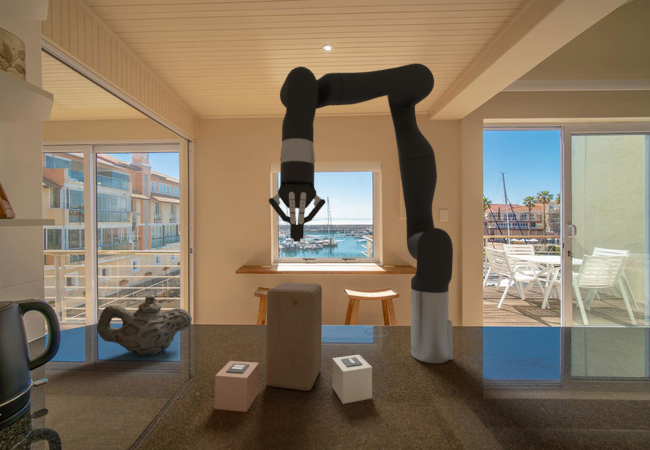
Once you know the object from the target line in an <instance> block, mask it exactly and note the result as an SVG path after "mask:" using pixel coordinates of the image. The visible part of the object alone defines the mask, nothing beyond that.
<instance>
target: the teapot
mask: <svg viewBox="0 0 650 450" xmlns="http://www.w3.org/2000/svg"><path fill="white" fill-rule="evenodd" d="M161 309H162V304H161V303H160V302H158V301H156V296H155V295H154V296H153V295H146V296H145V299H144V302H142V303H140V304H139V305H138V308H137V309H136V312H132V311H130V310H128V309H127V308H124V307H122V306H121V305H108V306H106V307H105V308H104V309H102V311H101V313H100V315H99V317H98V321H97V326H96V327H97V328H96V330H97V333H98V335H99V337H100V338H101V339H102V340H103V341H104V342H109V343H114V344H118V345H119V346H121V347H123V348H124V349H126V350H127V351H128V352H131V353H132V354H135V355H137V356H150V355H151V356H154V355H158V354H159V353H160V352H161V351H162V350H166V349H168V348H169V347H170V346H171V343H172V342H173V341H174V340H175V339H174V337H175V335H176V334H177V333H178V332H180V331H183V330H186V329H187V328H188V327H189V326H191V325H192V320H193V317H192V314H190V312H188V311H187V310H186V309H184V308H181V307H180V308H178V307H176V308H172V309H168V310H166V311H162V310H161ZM113 318H119V319H120V320H121V321H122V326H121V327H119V328H116V327H113V326H112V324H111V322H112V319H113Z"/></svg>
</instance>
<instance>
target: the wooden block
mask: <svg viewBox="0 0 650 450" xmlns="http://www.w3.org/2000/svg"><path fill="white" fill-rule="evenodd" d="M322 297H323V288H322V285H321V284H320V283H308V282H307V283H306V282H285V281H284V282H282V283H280V284H278V285H276V286H274V287H272V288H270V289H268V290H267V293H266V351H265V353H266V355H265V359H266V360H265V362H266V363H265V364H266V366H265V383H266V386H269V387H274V388H283V389H291V390H298V391H299V390H300V391H307V392H308V391H311V390H312V389H313V386H314V385H315V381H316V380H317V377H318V376H319V374H320V371H321V369H322V327H323V325H322V314H323V313H322V309H323V307H322V306H323V305H322V304H323V301H322V299H323V298H322Z"/></svg>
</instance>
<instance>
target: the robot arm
mask: <svg viewBox="0 0 650 450" xmlns="http://www.w3.org/2000/svg"><path fill="white" fill-rule="evenodd" d="M434 86H435V78H434V74H433V72H432V70H431V69H430V68H429V67H428V66H427V65H425V64H421V63H419V62H418V63H415V62H414V63H410V64H409V63H408V64H406V65H402V66H397V67H391V68H384V69H378V70H371V71H359V72H328V73H326V74H323V75H322V76H321V77H320V78H318V79H317V77H316V76H315V74H314V73H313V71H312V70H310V68H307V67H306V66H297V67H294V68H292V69H291V70H290V71H289V72H288V74H287V75H286V78H285V80H284V82H283V84H282V86H281V88H280V90H279V99H280V102H281V104H282V106H283V107H285V114H284V116H283V120H282V125H281V148H280V159H279V162H280V173H279V174H280V176H279V177H280V181H279V185H280V186H279V189H278V190H277V194H275V196H274V195H273V197H270V198H269V199H268V203H269V204H270V205H271V207H272V208H273V209H274V211H275V212H276V213H277V215H278V216H279V218H280V219H281V220H282V221H283V222H286V223H288V224H289V225H290V227H289V228H290V231H289V232H290V235H289V236H290V239H293V242H294V243H295V242H301V239H302V240H303V238H304V233H305V232H304V228H305V227H304V225H305V224H307V223H308V222H311V221H312V220H313V219H314V218H315V216H316V215H317V214H318V213H319V212H320V210H321V209H322V208H323V207H324V205H325V204H326V200H325V199H324V198H321V197H320V196H319V195H317V190H316V188H315V163H316V159H315V147H314V136H315V135H314V130H315V129H314V122H315V121H314V120H315V116H316V111H317V109H321V108H324V107H328V106H334V107H335V106H351V105H357V104H360V103H366V102H369V101H372V100H375V99H379V98H381V97H387V101H388V107H389V111H390V115H391V120H392V123H393V130H394V134H395V135H394V136H395V142H396V148H397V149H396V150H397V155H398V156H397V158H398V167H399V175H400V181H401V187H402V194H403V195H402V197H403V200H404V201H403V202H404V207H405V208H404V209H405V218H406V246H407V247H406V248H407V250H408V252H409V254H410V256H411V257H412V258H413V259H415V260H416V270H415V273H414V275H413V276H412V278H411V279H410V354H411V356H412V357H413V358H414V359H416V360H417V361H420V362H424V363H428V364H443V363H446V362H448V361H452V360H453V321H452V320H450V317H449V315H450V313H449V312H450V311H449V307H450V306H449V305H450V304H449V301H450V300H449V297H450V296H449V291H450V290H449V288H450V287H449V285H450V283H451V281H452V277H453V262H454V261H453V259H454V249H453V247H454V246H453V242H452V238H451V236H450V235H449V233H448V232H447V231H445V230H444V229H442V228H438V227H435V224H434V218H433V201H434V196H435V193H436V185H437V182H438V181H437V180H438V172H437V161H436V155H435V151H434V149H433V147H432V145H431V144H430V141H428V139H427V138H426V137H425V136H424V134H423V133H422V131H421V130H420V128H419V125H418V123H417V116H416V106H417V105H418V104H420V103H421V102H422V101H423V100H425V99H427V97H429V95H431V93H432V91H433V90H434ZM280 200H281V201H282V203H283V204H284V205H285V207H286V208H288V209H289V211H288V212H289V216H288V215H287V214H286V213H285V211H284V210H283V209H282V208H281V207H280V205H281V201H280ZM313 201H314V202H313ZM312 202H313V206H314V207H313V208H312V210H311V211H310V212H309V213H308V214H307V216H305V213H306V211H305V210H306V209H307V208H308V207H309V206H310V204H311V203H312ZM296 209H298V215H296Z"/></svg>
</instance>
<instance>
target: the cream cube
mask: <svg viewBox="0 0 650 450" xmlns="http://www.w3.org/2000/svg"><path fill="white" fill-rule="evenodd" d="M331 367H332V368H331V369H332V371H331V374H332V375H331V376H332V377H331V378H332V379H331V380H332V382H331V384H332V389H333V391H334V392H335V394H336V395H337V397H338V399H339V400H340V402H341V403H342V404H343V405H344V404H348V403H349V404H350V403H355V402H359V401H360V402H361V401H364V400H365V401H366V400H372V399H373V366H372V365H370V364H369V363H368V361H366V359H364V358H363V357H362V356H361V355H360V354H353V355H347V356H338V357H332V366H331Z"/></svg>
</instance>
